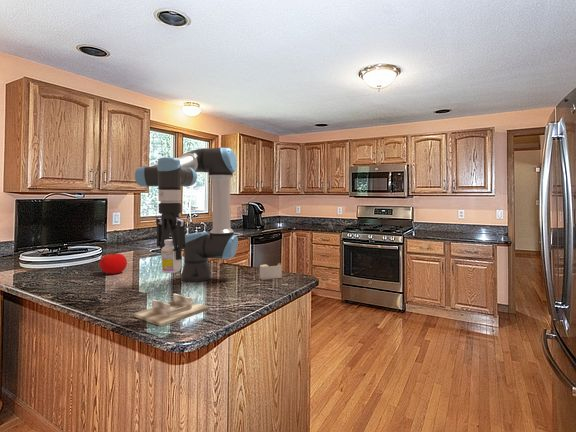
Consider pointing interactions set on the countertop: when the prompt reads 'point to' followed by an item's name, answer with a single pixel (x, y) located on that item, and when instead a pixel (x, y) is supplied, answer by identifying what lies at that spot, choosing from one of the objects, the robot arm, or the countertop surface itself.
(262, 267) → the model
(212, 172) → the robot arm
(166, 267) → the supplement bottle
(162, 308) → the bottle dock
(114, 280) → the countertop surface
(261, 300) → the countertop surface
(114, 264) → the tomato
